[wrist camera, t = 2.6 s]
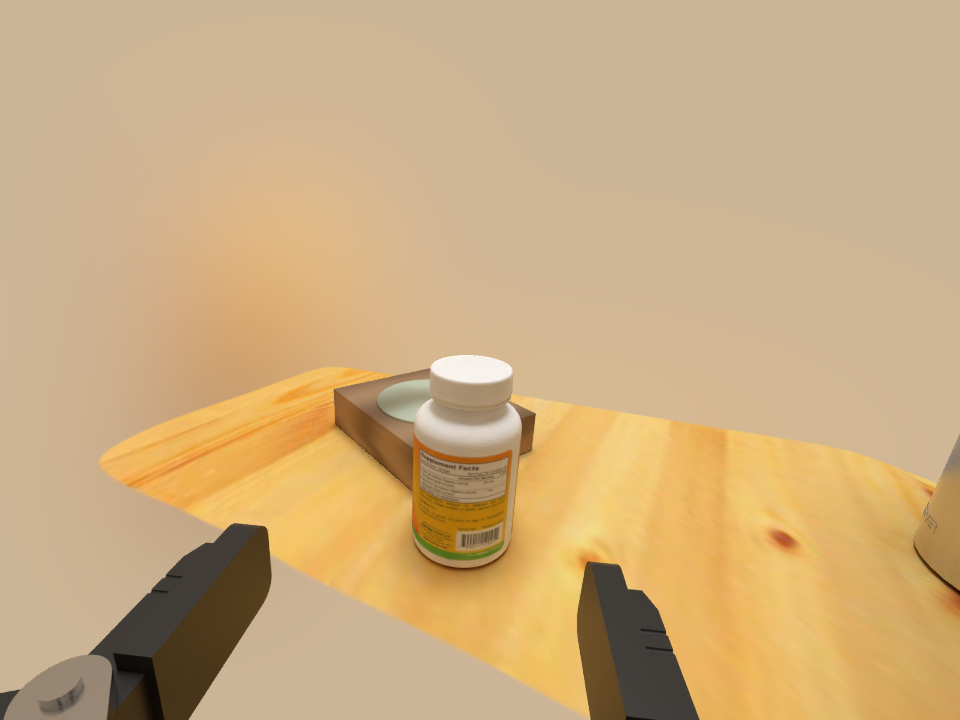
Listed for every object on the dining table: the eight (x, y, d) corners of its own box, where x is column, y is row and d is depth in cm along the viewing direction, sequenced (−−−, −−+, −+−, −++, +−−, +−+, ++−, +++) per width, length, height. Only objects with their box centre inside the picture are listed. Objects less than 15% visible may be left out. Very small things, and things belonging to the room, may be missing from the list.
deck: (531, 449, 34) (535, 411, 33) (420, 497, 27) (421, 451, 26) (437, 396, 42) (438, 364, 41) (335, 424, 36) (333, 386, 35)
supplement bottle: (446, 493, 28) (452, 343, 25) (526, 524, 26) (544, 363, 23) (391, 545, 23) (391, 370, 20) (482, 588, 21) (497, 398, 18)
